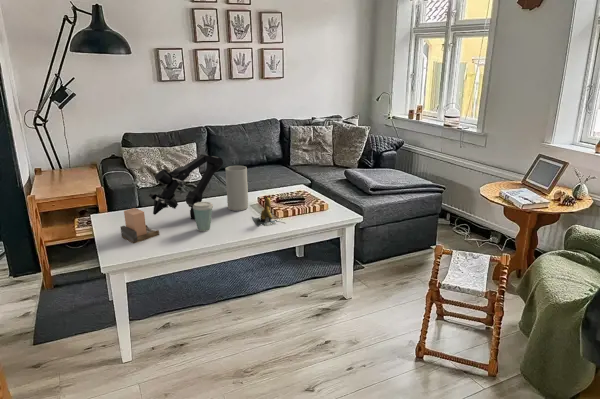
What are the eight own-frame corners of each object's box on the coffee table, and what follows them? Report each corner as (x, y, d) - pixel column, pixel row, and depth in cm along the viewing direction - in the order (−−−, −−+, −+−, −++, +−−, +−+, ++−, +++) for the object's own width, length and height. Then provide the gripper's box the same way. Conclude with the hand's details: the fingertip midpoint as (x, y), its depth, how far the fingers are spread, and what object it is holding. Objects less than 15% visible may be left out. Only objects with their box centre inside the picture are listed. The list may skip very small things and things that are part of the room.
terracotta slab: (137, 229, 236) (134, 207, 233) (146, 233, 231) (144, 211, 227) (126, 232, 232) (123, 210, 228) (136, 237, 226) (133, 214, 223)
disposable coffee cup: (192, 227, 245) (190, 201, 240) (212, 224, 249) (210, 198, 244) (196, 234, 236) (194, 207, 231) (216, 231, 240) (215, 204, 235)
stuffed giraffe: (257, 227, 245) (257, 199, 241) (250, 217, 262) (250, 190, 258) (285, 224, 250) (286, 197, 246) (277, 215, 267) (277, 189, 262)
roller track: (146, 229, 242) (145, 219, 241) (159, 235, 235) (158, 224, 233) (121, 237, 232) (120, 226, 230) (134, 243, 225) (132, 232, 223)
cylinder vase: (247, 211, 269) (245, 170, 261) (226, 211, 269) (223, 170, 261) (249, 204, 281) (247, 165, 273) (229, 204, 281) (227, 165, 273)
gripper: (190, 200, 241) (174, 225, 237) (170, 193, 253) (154, 217, 249) (176, 189, 233) (159, 215, 229) (156, 183, 245) (140, 207, 240)
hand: (154, 214), depth 237 cm, fingers closed
